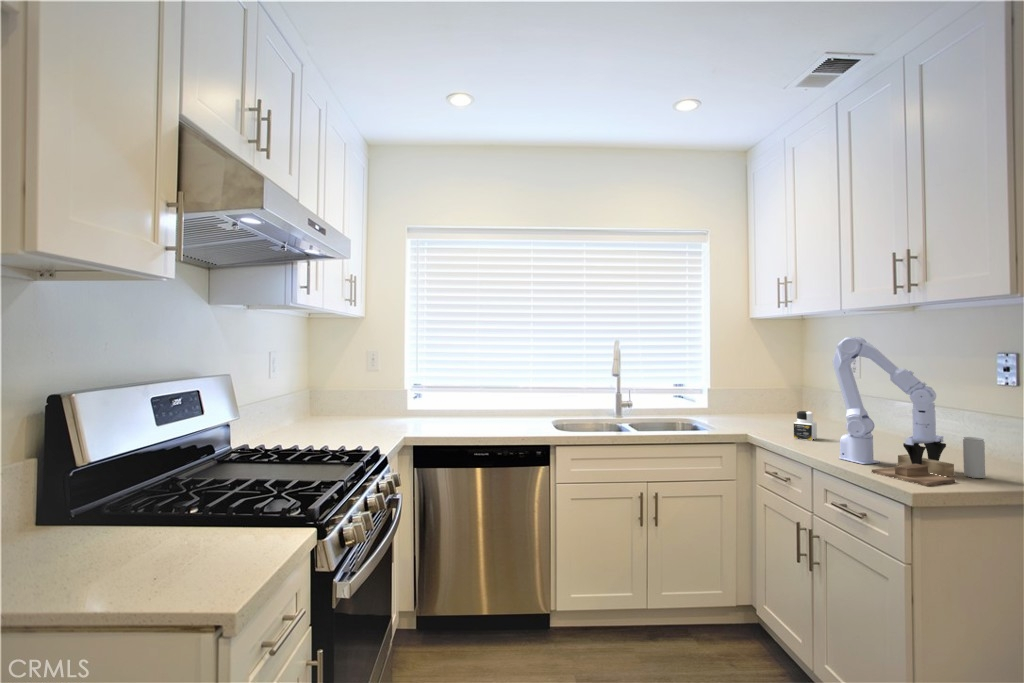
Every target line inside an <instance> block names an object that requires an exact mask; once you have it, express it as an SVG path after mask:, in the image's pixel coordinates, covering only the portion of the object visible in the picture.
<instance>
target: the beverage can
mask: <svg viewBox="0 0 1024 683" xmlns="http://www.w3.org/2000/svg"><path fill="white" fill-rule="evenodd" d="M984 440H985V439H984V438H981V437H972V436H964V437H963V439H962V449H963V450H962V451H963V452H962V453H963V454H962V455H963V461H962V462H963V474H964V476H965V477H967V476H968V477H967V478H969V477H972V478H971V479H975V478H983V479H985V477H986V452H985V450H986V448H985V446H986V445H985V444H986V443H985V442H986V441H984Z"/></svg>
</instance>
